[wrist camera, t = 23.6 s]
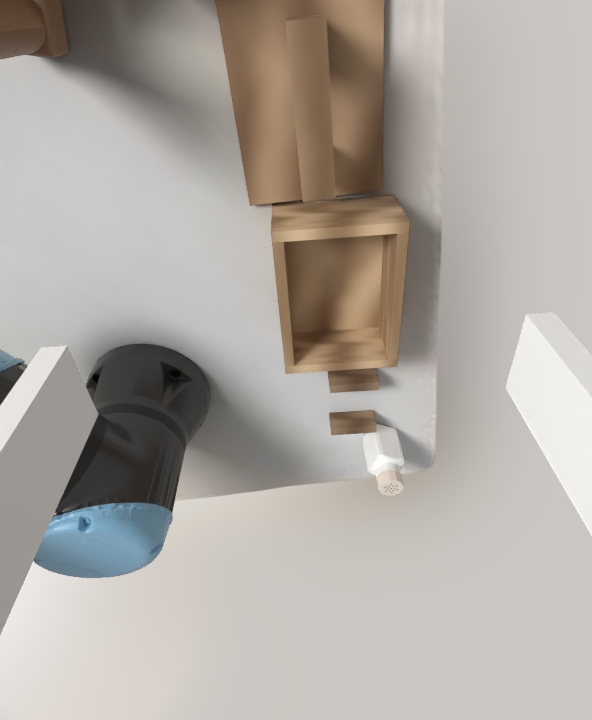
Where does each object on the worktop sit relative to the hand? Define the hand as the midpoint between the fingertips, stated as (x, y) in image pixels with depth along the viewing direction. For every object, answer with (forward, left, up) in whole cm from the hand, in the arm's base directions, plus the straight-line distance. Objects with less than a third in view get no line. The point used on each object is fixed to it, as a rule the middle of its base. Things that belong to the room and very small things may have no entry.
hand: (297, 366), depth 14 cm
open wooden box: (+4, -15, -35) cm, 38 cm away
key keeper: (+6, -33, -35) cm, 48 cm away
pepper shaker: (+10, -41, -35) cm, 55 cm away
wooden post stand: (+2, +2, -35) cm, 35 cm away
